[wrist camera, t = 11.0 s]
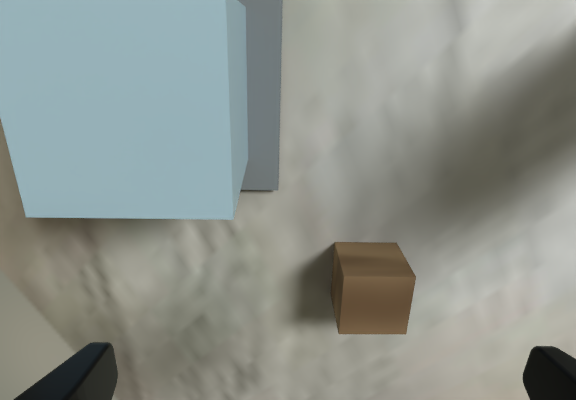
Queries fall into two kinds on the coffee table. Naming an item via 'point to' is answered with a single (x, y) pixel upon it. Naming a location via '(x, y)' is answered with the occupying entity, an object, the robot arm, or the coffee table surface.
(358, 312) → the walnut block
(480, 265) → the coffee table surface
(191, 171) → the pale blue cube
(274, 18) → the gray square plate
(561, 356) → the robot arm
